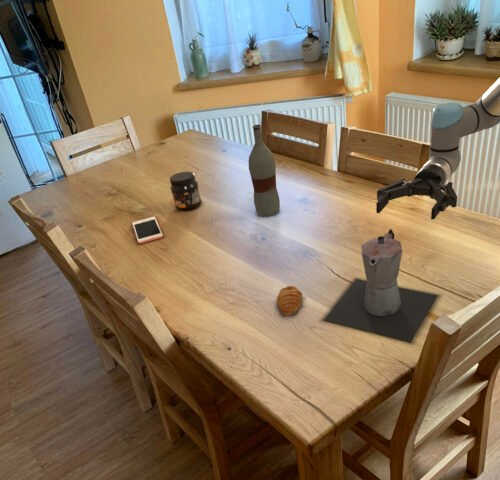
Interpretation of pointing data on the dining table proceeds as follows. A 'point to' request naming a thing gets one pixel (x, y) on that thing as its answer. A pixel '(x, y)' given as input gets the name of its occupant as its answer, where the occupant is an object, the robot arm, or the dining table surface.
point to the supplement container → (185, 191)
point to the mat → (393, 326)
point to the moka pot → (382, 274)
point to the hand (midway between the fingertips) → (404, 211)
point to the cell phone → (147, 230)
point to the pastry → (289, 300)
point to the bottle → (263, 177)
